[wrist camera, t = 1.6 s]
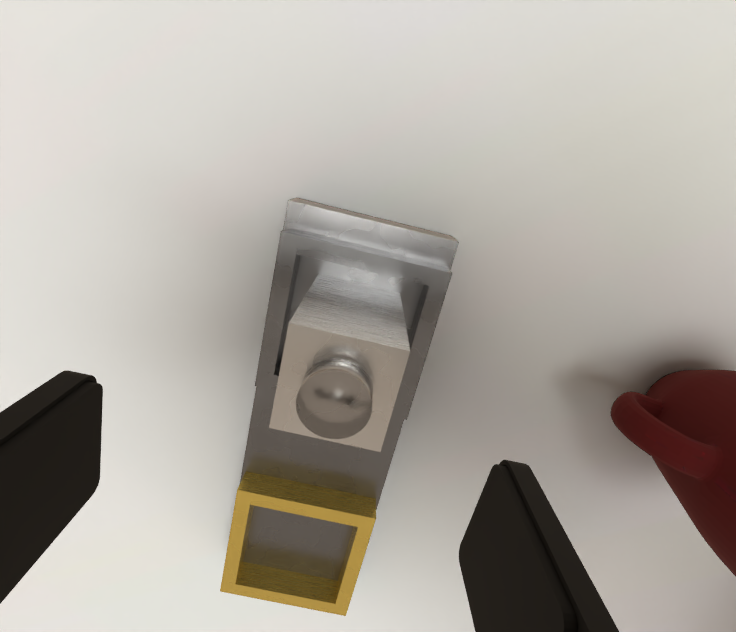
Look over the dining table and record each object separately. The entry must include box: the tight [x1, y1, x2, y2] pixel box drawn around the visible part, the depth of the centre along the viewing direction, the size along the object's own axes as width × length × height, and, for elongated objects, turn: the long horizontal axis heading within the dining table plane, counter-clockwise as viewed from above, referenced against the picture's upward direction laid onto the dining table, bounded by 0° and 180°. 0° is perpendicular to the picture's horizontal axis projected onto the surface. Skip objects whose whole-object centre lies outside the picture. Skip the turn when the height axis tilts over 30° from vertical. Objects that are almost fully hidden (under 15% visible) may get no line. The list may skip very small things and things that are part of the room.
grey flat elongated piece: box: [220, 198, 459, 616], centre depth 23 cm, size 8×24×4 cm, turn 166°
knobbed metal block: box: [269, 274, 410, 452], centre depth 17 cm, size 4×4×8 cm
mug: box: [611, 370, 736, 576], centre depth 19 cm, size 10×8×10 cm
